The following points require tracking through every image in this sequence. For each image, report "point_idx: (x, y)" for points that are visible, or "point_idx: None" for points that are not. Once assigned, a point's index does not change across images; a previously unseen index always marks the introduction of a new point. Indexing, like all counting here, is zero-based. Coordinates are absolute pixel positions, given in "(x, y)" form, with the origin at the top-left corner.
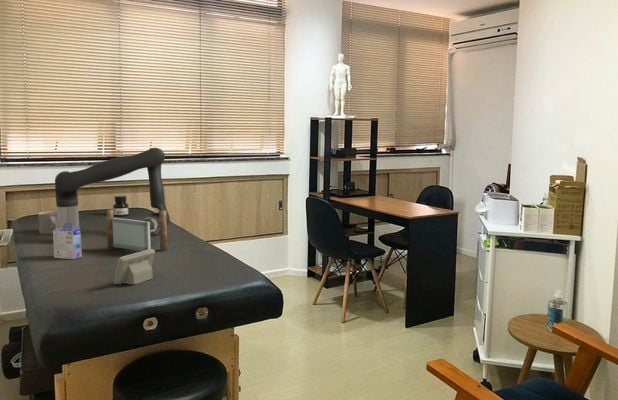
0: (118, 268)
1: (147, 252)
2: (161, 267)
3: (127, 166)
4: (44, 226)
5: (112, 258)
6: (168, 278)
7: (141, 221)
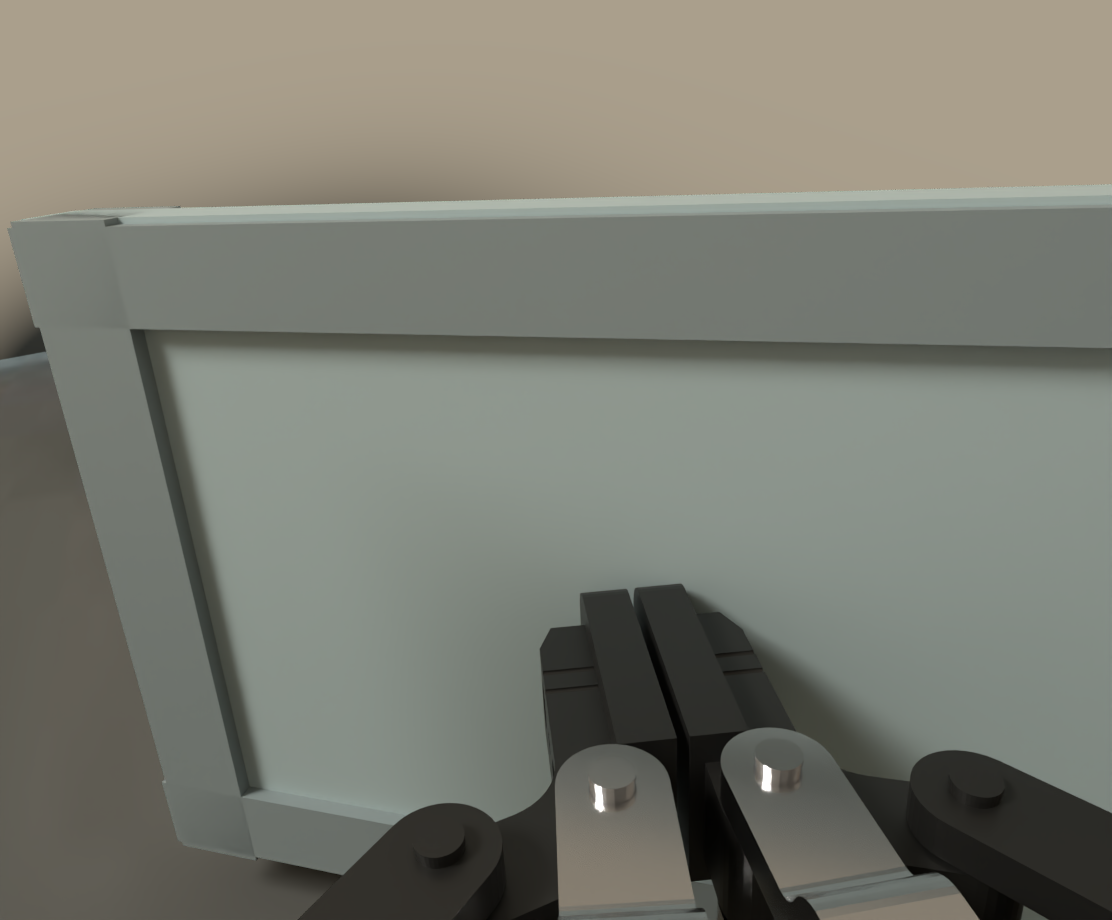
0: None
1: None
2: (54, 546)
3: None
4: None
5: None
6: (26, 443)
7: (247, 208)
